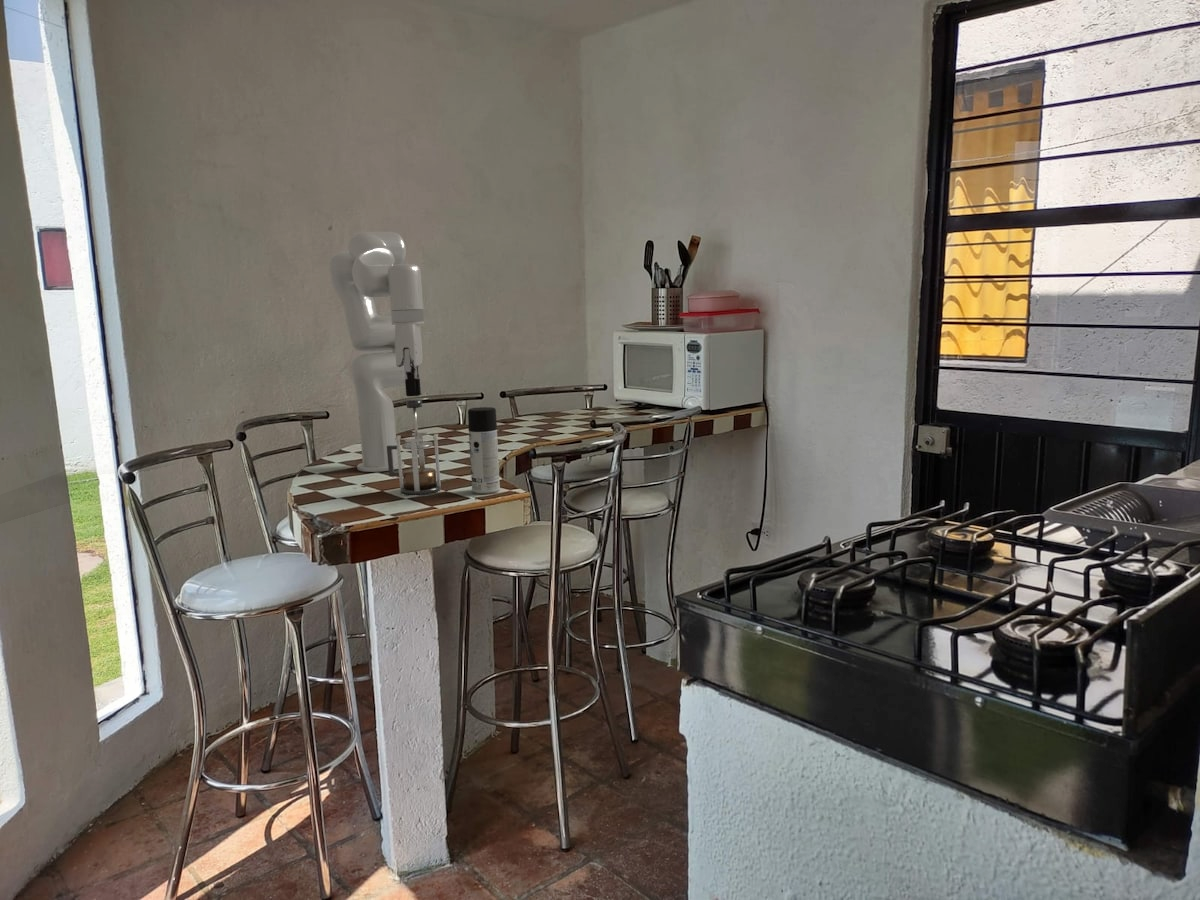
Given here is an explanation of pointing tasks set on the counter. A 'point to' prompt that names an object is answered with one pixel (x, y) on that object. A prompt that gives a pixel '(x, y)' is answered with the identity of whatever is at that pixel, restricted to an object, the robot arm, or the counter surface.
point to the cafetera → (415, 469)
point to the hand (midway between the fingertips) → (413, 395)
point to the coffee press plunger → (423, 444)
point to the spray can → (483, 450)
